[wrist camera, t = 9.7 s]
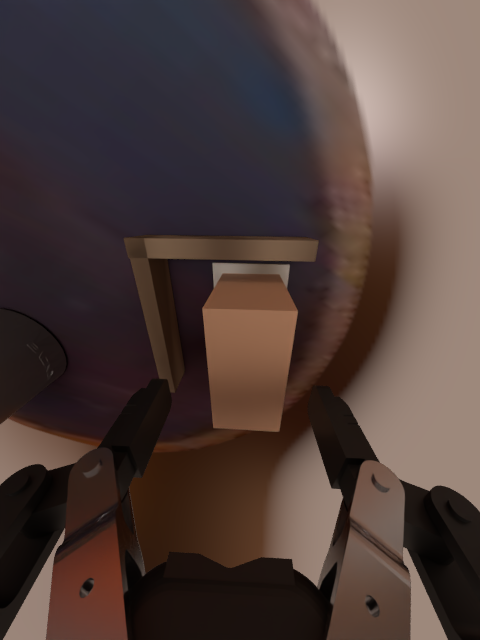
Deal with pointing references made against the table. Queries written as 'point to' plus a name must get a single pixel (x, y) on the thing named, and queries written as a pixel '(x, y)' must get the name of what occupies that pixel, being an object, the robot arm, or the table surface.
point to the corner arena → (157, 287)
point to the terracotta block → (249, 350)
